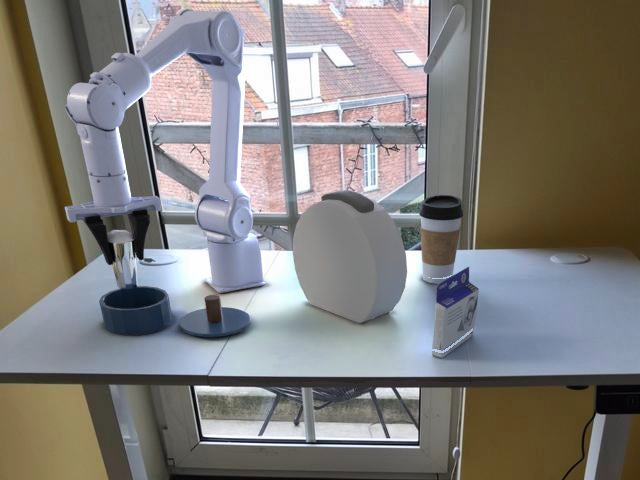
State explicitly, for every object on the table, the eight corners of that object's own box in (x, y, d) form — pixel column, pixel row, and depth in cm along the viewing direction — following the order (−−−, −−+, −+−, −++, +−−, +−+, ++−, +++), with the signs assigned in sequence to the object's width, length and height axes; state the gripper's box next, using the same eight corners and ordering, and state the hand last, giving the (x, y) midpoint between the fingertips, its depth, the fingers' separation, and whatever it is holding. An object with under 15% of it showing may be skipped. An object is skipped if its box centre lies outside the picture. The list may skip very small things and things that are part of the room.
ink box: (443, 360, 117) (448, 288, 110) (430, 356, 118) (434, 285, 111) (475, 335, 124) (481, 267, 118) (463, 332, 125) (468, 265, 118)
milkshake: (138, 292, 122) (128, 230, 116) (109, 289, 123) (97, 227, 117) (151, 284, 126) (142, 223, 120) (122, 280, 127) (111, 220, 121)
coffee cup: (465, 276, 148) (472, 198, 139) (445, 289, 142) (450, 208, 133) (429, 269, 151) (433, 192, 142) (408, 280, 146) (411, 201, 137)
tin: (145, 305, 133) (141, 281, 131) (185, 321, 128) (181, 296, 125) (92, 323, 126) (86, 298, 124) (131, 341, 121) (126, 315, 118)
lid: (194, 310, 132) (190, 282, 129) (259, 315, 130) (256, 287, 127) (169, 337, 122) (164, 308, 119) (239, 342, 121) (236, 312, 118)
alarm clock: (406, 318, 130) (409, 200, 118) (377, 330, 126) (378, 209, 114) (323, 288, 142) (320, 178, 130) (294, 298, 137) (287, 185, 125)
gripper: (64, 183, 108) (85, 275, 116) (161, 172, 114) (175, 260, 122) (54, 173, 113) (75, 262, 121) (147, 164, 119) (162, 249, 127)
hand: (124, 260), depth 122 cm, fingers closed on milkshake, 4 cm apart
